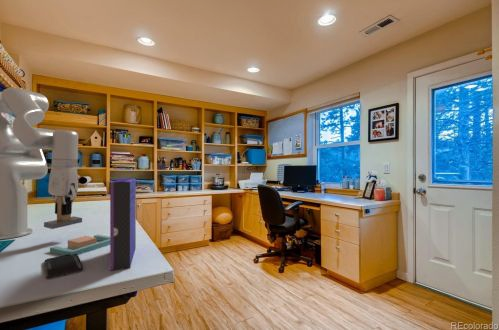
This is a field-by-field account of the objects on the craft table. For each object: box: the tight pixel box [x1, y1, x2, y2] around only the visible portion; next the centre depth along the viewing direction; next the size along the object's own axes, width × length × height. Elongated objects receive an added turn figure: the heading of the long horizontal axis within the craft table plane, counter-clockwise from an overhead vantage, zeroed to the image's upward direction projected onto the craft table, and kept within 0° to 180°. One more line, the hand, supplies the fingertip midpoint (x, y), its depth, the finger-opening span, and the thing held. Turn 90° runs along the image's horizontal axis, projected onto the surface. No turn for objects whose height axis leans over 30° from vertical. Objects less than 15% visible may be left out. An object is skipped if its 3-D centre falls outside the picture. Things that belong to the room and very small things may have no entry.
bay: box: [49, 234, 110, 256], centre depth 84 cm, size 11×16×2 cm
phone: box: [43, 253, 84, 280], centre depth 68 cm, size 8×1×15 cm
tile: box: [67, 235, 98, 250], centre depth 84 cm, size 6×6×3 cm
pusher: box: [43, 196, 83, 230], centre depth 89 cm, size 10×5×11 cm, turn 157°
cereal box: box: [109, 177, 137, 272], centre depth 74 cm, size 17×5×24 cm, turn 21°
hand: (63, 213), depth 89 cm, fingers closed on pusher, 3 cm apart
